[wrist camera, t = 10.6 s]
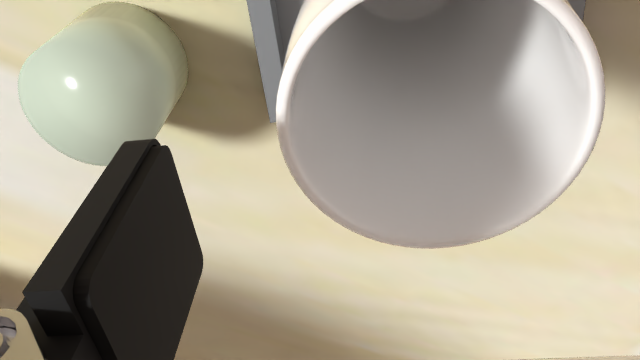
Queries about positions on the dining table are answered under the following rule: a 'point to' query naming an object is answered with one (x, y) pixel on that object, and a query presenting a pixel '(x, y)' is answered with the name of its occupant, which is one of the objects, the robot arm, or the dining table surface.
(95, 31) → the pale green rounded cylinder
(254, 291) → the dining table surface
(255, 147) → the dining table surface
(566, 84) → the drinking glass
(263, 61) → the slate tray
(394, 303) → the dining table surface
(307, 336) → the dining table surface
